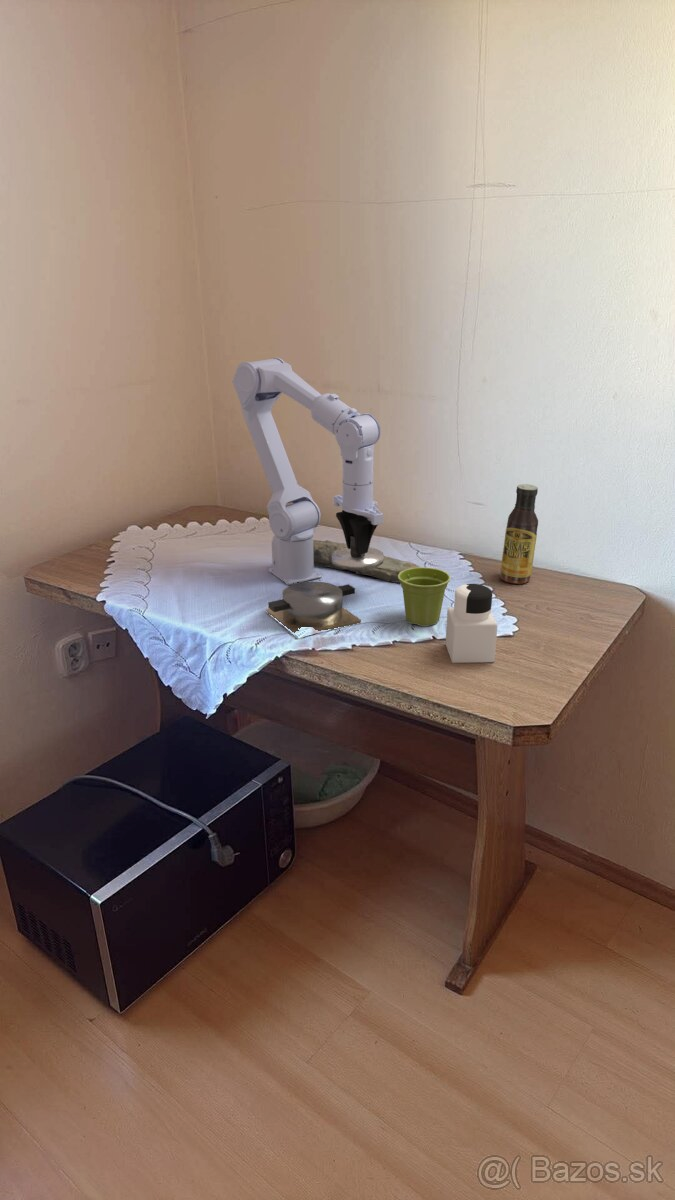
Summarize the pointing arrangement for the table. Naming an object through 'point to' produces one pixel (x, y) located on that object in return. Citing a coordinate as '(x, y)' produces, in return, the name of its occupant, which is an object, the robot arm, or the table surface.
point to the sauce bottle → (520, 537)
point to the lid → (357, 557)
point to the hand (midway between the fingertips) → (357, 550)
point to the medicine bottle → (471, 625)
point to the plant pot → (423, 594)
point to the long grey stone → (384, 571)
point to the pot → (313, 606)
